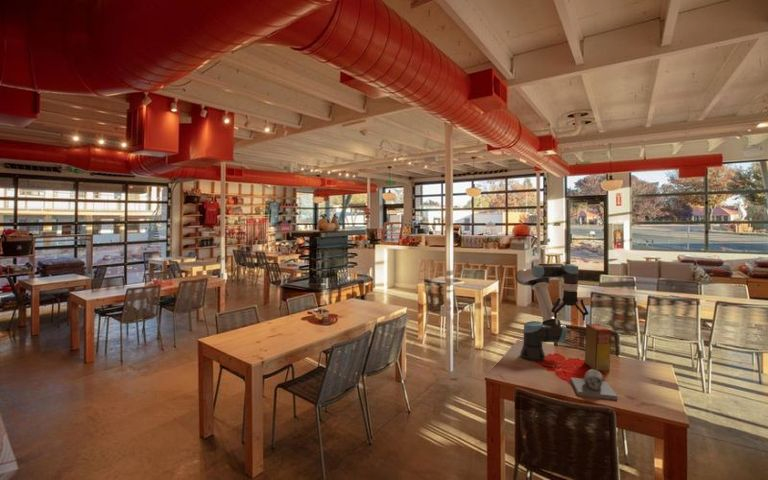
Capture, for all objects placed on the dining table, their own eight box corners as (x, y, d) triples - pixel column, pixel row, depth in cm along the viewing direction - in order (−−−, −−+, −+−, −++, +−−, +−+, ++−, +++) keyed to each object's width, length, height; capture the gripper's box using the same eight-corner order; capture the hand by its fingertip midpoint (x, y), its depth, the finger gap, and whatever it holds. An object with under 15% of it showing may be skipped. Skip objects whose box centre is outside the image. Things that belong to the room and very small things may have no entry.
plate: (578, 395, 194) (578, 391, 194) (570, 380, 211) (570, 377, 211) (617, 399, 189) (617, 396, 189) (606, 384, 206) (606, 381, 206)
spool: (605, 388, 190) (596, 368, 194) (586, 392, 195) (577, 373, 199) (609, 385, 200) (600, 366, 204) (591, 389, 205) (582, 371, 209)
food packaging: (610, 370, 225) (612, 330, 223) (595, 370, 225) (596, 330, 224) (598, 362, 238) (599, 323, 237) (583, 362, 238) (584, 323, 237)
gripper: (548, 290, 223) (547, 324, 225) (595, 292, 216) (593, 328, 218) (547, 287, 230) (545, 321, 232) (591, 290, 223) (590, 324, 225)
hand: (568, 324), depth 225 cm, fingers open, 13 cm apart
